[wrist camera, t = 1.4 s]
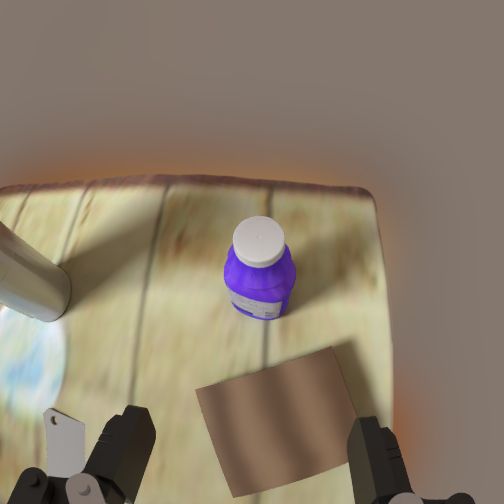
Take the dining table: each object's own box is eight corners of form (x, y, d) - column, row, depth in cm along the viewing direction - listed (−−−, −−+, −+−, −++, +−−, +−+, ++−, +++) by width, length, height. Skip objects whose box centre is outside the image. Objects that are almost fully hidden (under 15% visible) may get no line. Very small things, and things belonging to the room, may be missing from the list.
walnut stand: (236, 487, 29) (233, 497, 25) (202, 389, 34) (195, 389, 31) (359, 446, 30) (368, 452, 26) (324, 350, 36) (331, 346, 32)
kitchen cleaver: (85, 548, 21) (36, 519, 22) (88, 546, 22) (39, 518, 23) (98, 429, 32) (45, 402, 32) (101, 428, 32) (48, 402, 33)
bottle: (293, 287, 40) (311, 218, 24) (281, 328, 37) (293, 283, 22) (241, 272, 41) (226, 196, 25) (227, 311, 39) (199, 255, 23)
